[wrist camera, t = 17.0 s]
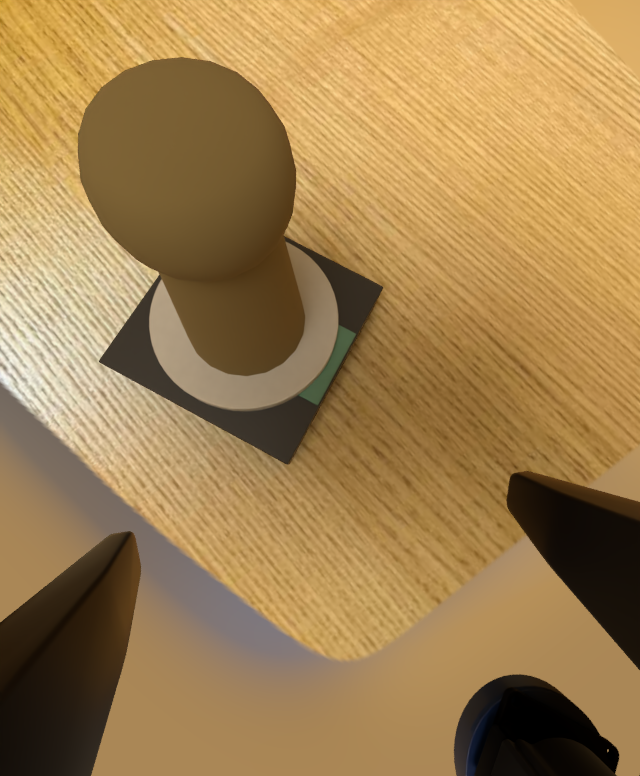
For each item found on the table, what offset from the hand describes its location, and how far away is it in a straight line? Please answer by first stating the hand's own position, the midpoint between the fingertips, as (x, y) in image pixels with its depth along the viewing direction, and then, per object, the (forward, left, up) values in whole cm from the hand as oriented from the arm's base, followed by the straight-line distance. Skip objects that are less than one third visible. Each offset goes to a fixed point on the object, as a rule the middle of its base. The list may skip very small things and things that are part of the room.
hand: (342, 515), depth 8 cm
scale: (+7, -6, -12) cm, 15 cm away
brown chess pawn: (+7, -6, -9) cm, 13 cm away
